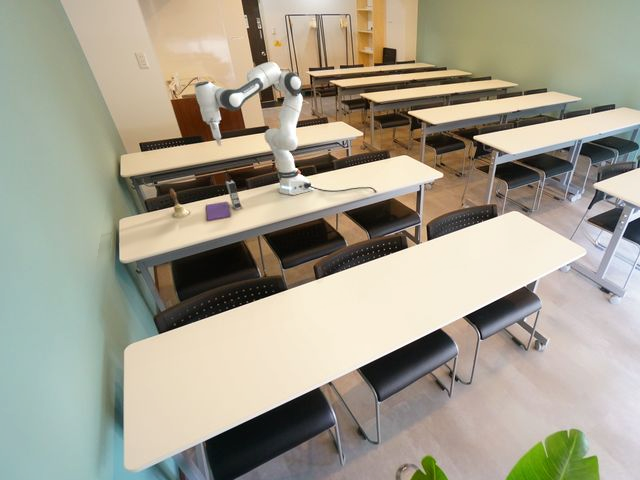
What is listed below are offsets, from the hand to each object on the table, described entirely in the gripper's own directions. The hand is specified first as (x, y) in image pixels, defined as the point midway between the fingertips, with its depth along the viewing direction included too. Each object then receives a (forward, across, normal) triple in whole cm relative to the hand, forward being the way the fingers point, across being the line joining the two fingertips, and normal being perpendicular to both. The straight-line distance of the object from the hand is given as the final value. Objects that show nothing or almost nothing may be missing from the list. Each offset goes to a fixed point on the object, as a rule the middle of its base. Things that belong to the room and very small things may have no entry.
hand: (219, 143), depth 188 cm
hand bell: (+39, +5, +31) cm, 50 cm away
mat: (+39, 0, +11) cm, 41 cm away
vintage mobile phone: (+39, 0, 0) cm, 39 cm away
